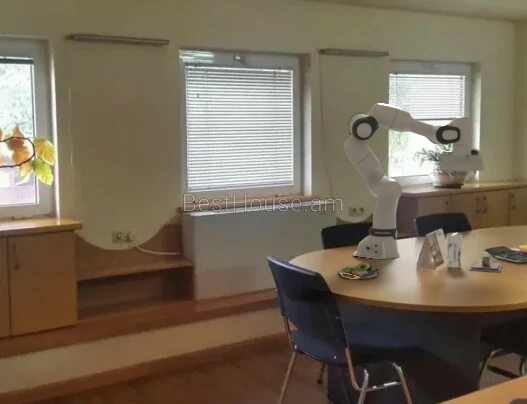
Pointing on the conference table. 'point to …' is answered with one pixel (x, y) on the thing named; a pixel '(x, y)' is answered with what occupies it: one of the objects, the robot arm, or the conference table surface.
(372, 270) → the salad plate
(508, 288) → the conference table surface
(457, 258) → the beer glass
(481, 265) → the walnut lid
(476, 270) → the slate mat
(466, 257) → the conference table surface
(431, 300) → the conference table surface
